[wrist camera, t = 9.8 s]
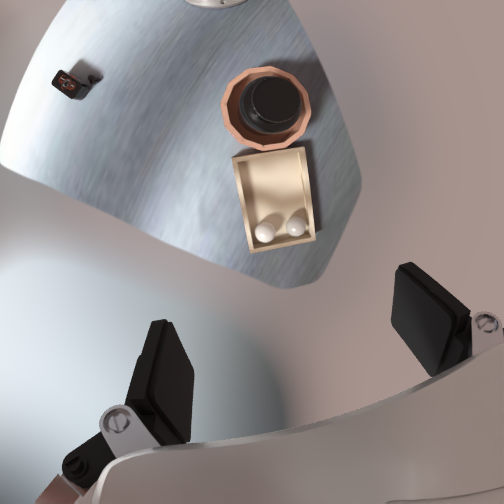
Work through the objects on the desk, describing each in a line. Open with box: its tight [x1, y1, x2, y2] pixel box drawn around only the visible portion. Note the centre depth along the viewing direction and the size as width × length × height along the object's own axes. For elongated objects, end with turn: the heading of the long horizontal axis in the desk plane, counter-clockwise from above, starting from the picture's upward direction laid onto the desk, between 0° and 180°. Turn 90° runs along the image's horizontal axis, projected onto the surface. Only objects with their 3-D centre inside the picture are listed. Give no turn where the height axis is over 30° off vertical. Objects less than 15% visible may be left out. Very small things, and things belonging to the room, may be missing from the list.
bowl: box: [221, 66, 311, 151], centre depth 33 cm, size 11×11×4 cm
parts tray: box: [232, 146, 316, 254], centre depth 39 cm, size 14×10×2 cm
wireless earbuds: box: [52, 70, 101, 100], centre depth 28 cm, size 4×7×3 cm, turn 49°
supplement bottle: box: [238, 76, 302, 136], centre depth 29 cm, size 7×7×12 cm
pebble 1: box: [255, 222, 276, 243], centre depth 40 cm, size 3×3×3 cm
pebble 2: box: [286, 216, 306, 237], centre depth 40 cm, size 3×3×3 cm
